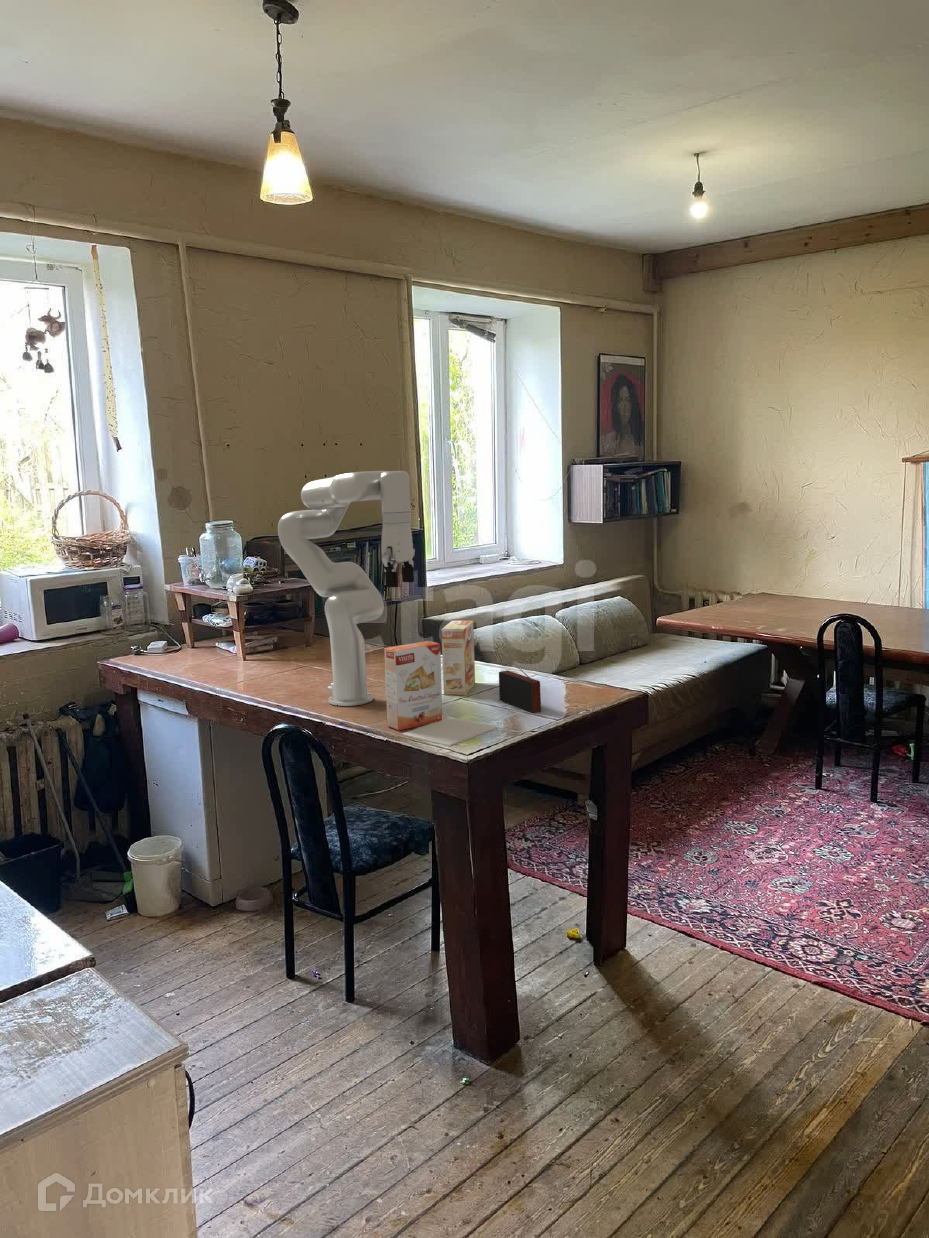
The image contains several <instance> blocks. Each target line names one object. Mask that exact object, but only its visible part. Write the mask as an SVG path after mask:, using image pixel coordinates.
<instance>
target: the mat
mask: <svg viewBox="0 0 929 1238" xmlns="http://www.w3.org/2000/svg"><path fill="white" fill-rule="evenodd" d="M496 729H498V726H494V725H490V724H484V723H481V722H475V721H470V720H466V719H461V718H456V717H452V716H450V717H447V718H444V719H443V718H442V720H441V721H438V722H433V723H429V724H425V725H422V726H419V727H417V728H414V729H412V730H409V731H407V732H406V731H405V732H403V733H401V735H402V736H405V737H409V738H414V739H416V740H420V741H424V742H425V741H426V742H429V743H432V744H433V743H434V744H438V745H442V746H446V747H451V746H454V745H457V744H459V743H461V742H464V741H468V740H469V739H473V738H475V737H478V736H480V735H483V734H485V733H488V732H490V731H493V730H494V731H495V730H496Z"/></svg>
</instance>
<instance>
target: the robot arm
mask: <svg viewBox="0 0 929 1238" xmlns="http://www.w3.org/2000/svg"><path fill="white" fill-rule="evenodd" d="M410 486H411V485H410V475H409V473H408V472H407V471H405V470H391V471H390V470H389V471H387V470H371V471H370V470H368V471H367V470H366V471H354V472H347V473H341V474H337V475H335V476H330V477H326V478H320V479H316V480H315V479H314V480H312V481H310V482H307V483H306V484H305V485H304V486H303V487H302V489H301V492H300V500H301V501H302V503H303V504H304V506H305V507H307V508H308V509H306V510H305V509H302V510H295V511H294V510H293V511H290V512H287V513H285V514H284V515H282V516H281V518H280V519H279V520H278V524H277V534H278V539H279V542H280V544H281V547H282V549H283V550H284V552H285V553H286V554H287V555H288V556H289V558H290V559H291V560H292V561H293V562H294V563H295V565H297V566H298V568H299V569H300V570H301V572H302V574H303V576H304V577H305V578H306V580H307V582H309V584H310V586H311V587H312V588H313V591H315V592H316V594H318V595H319V596H320V597H322V598H327V599H326V600H325V603H324V615H325V618H326V623H327V626H328V632H329V641H330V652H331V654H330V657H331V671H332V683H330V685H328V686H327V687H326V690H327V691H329V692H331V696H329V697H328V703H329V704H330V705H333V706H337V705H338V707H339V706H341V707H354V706H359V705H364V704H368V703H371V702H372V701H373V700H374V695H373V694H372V693H370V692H368V686H367V685H368V684H367V667H366V649H365V647H366V646H365V638H364V635H363V634H362V631H360V629H359V627H358V625H357V624H362V623H366V622H370V621H374V620H377V619H379V618H380V617H381V616H382V615H383V613H384V609H385V608H384V606H385V604H384V600H383V597H382V595H381V593H380V592H379V590H378V589H377V587H376V586H375V585H374V583H373V582H372V580H371V579H370V578H369V576H368V575H367V573H366V572H365V570H364V569H363V568H362V567H361V566H360V565H359V564H357V563H355V562H352V561H341V562H334V561H332V560H331V559H330V558H329V557H328V556H327V554H326V553H325V551H324V550H323V549H322V548H321V547H320V546H318V545H317V544H315V543H314V542H312V541H310V540H314V539H321V538H322V539H323V538H328V537H331V536H333V535H334V534H335V532H336V531H337V529H338V528H339V526H340V523H341V522H342V520H343V518H344V516H345V514H346V512H347V510H348V508H349V505H350V504H352V503H353V502H365V501H374V500H375V501H376V500H380V502H381V503H380V504H381V505H380V506H381V518H382V529H381V562H382V566H383V568H384V569H383V571H384V576H385V578H384V579H385V587H386V588H398V586H399V582H398V580H399V579H398V571H396V570H397V567H398V564H401V565H402V566H403V567H401V575H402V583H414V582H415V572H414V570H415V569H414V567H415V563H414V562H415V553H416V549H415V548H414V543H413V533H412V527H411V525H412V511H411V510H412V509H411V508H412V506H411V490H410V489H411V487H410Z"/></svg>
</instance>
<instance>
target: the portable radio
mask: <svg viewBox="0 0 929 1238" xmlns="http://www.w3.org/2000/svg"><path fill="white" fill-rule="evenodd" d="M496 650H497V651H499V652H500V653H501V654H502V655H503V656H505V657H506V658H507V659H508V661H510V662H511V663H512V664H513V665H514V666H515V667H516V668H517V669H518V670H520V672H521V673H523V674H524V675H522V674H519V673H516V672H514V671H512V670H511V671H510V670H502V671H499V672H498V687H499V688H498V690H499V693H498V694H499V701H500V702H502V703H504V704H506V705H509V706H512V707H515V708H517V709H520V710H522V711H524V712H528V713H530V714H537V713H541V712H542V706H541V705H542V703H541V702H542V701H541V700H542V699H541V697H542V696H541V695H542V694H541V681H540V680H538V679H535V678H531V677H530V676H529V675H528V674H526V672H525V671H523V670H522V669H521V668H520V667H519V666H518V665H517V664H515V662H513V661H512V660H511V659H510V658H509V657H507V656H506V654H505V653H503V652H502V651H501V650H500V649H499V648H498V647H496Z"/></svg>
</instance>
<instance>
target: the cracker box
mask: <svg viewBox="0 0 929 1238" xmlns="http://www.w3.org/2000/svg"><path fill="white" fill-rule="evenodd" d="M383 650H384V652H383V654H384V674H385V675H384V677H385V679H384V680H385V700H386V701H385V702H386V703H385V704H386V723H387V726H386V727H389V728H391V729H394V730H397V731H403V730H407V729H412V728H416V727H422V726H426V725H429V724H432V723H435V722H438V721H441V720H443V692H442V658H441V657H442V655H441V654H442V649H441V643H438V642H435V641H431V640H425V641H419V642H418V641H417V642H414V643H407V644H401V645H395V646H390V647H389V646H388V647H384V648H383Z"/></svg>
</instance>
